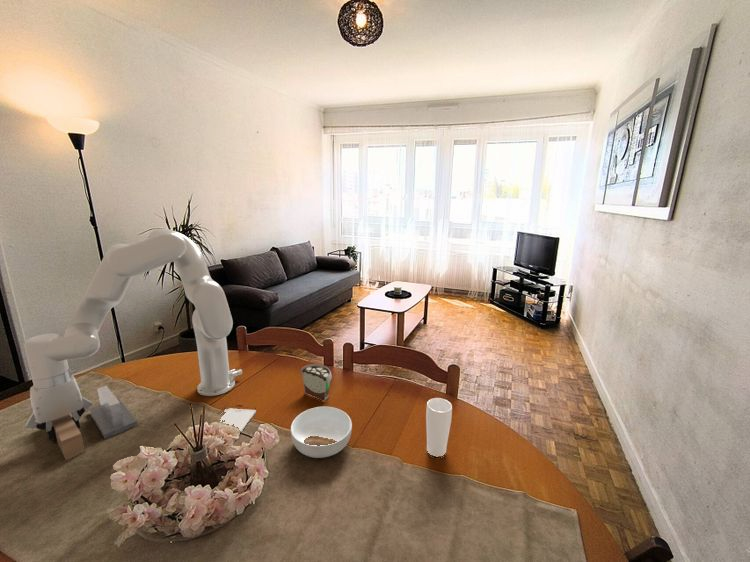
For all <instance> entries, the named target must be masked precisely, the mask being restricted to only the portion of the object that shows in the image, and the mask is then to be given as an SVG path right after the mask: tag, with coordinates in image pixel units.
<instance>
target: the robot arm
mask: <svg viewBox="0 0 750 562" xmlns="http://www.w3.org/2000/svg"><path fill="white" fill-rule="evenodd" d="M170 263H174V265H175V267H176V270H177V272H178V275H179V277H180V280H181V284H182V286H183V289H184V290H183V291H184V295H185V297H186V299H188V301H189V302H191V303H192V304H193V305H194V308H195V309H194V311H193V313H192V317H191V321H192V322H191V323H192V327H193V332H194V337H195V342H196V348H197V355H198V356H197V357H198V364H199V374H200V382H199V384H198V385H197V387H196V389H197V393H198V394H199V395H201V396H205V397H214V396H215V397H216V396H219V395H222V394H225V393H227V392H229V391H231V390H232V389H234V386H235V385H236V380H235V378H236V377H237V376H240V375H242V374H244V373H243V370H242V369H236V368H233V369H231V370H230V364H229V356H228V355H229V354H228V342H227V337H228V336H229V335H230V333H231V331H232V330H233V324H234V322H233V321H234V320H233V317H232V314H231V311H230V310H231V309H230V307H229V303H228V300H227V297H226V294H225V291H224V289H223V288H222V286H221V284H219V283H218V282H217V281H215V280H214V279H212V277H211V275H210V272H209V268H208V266H207V264H206V261H205V257H204V256H203V254H202V252H201V250H200V249H199V247H198V246H197V244H196V243H195V242H194V241H193V240H191V239H190V238H189V237H187V236H186V235H185V234H183V233H181V232H179V231H176V230H172V229H168V228H157V229H154V230H152V231H151V232H150V233H149V235H148V236H147V238H146V239H144V240H140V241H138V242H135V243H132V244H127V243H116V244H113V245H112V246H111V247H109V248H108V249H107V251H106V252H105V254H104V256H103V257H102V260H101V261H100V263H99V265H98V267H97V269H96V271H95V274H94V275H93V278H92V279H91V281H90V283H89V285H88V287H87V290H86V291H85V293H84V295H83V296H82V299H81V300H80V302H79V304H78V305H77V307H76V309H75V311H74V313H73V314H72V316H71V319H70V321H69V322H68V325H67V327H66V329H65V332H64V335H63V336H61V335H60V334H58V333H54V332H53V333H43V334H39V335H35V336H33V337H30V338H28V339H27V340H26V341H25V342H24V345H23V347H24V352H25V356H26V360H27V365H28V367H29V372H30V376H31V380H32V383H33V385H32V386H31V387H30V388H29V397H30V398H29V399H30V405H31V411H32V413H31V414H30V417H29V418H28V419H27V421H26V423H25V427H26V428H27V429H39V430H41V431H42V430H43V431H45V432H46V433H47V436H48V440H49V441H51V440H52V441H53V443H57V438H56V433H55V430H54V428H53V426H52V420H53V419H56V418H59V417H62V416H64V415H67V414H70V415H71V417H72V419H73V421H74V422H75V424H76V426H77V427H78V429H79V430H80V429H81V423H80V420H81V417H82V415H84V413H85V412H86V411H87V410H89V409H90V407H91V406H92V405H93V403H92V401H90V400H88V398H86V397H83V396H82V393H81V390H80V387H79V385H78V382H77V380H76V378H75V376H74V374H75V373H76V374H77V373H78V372H77V371H78V370H77V368H76V367H73V368H71V367H69V362H68V361H69V360H79V359H86V358H89V357H92V356H93V355H95V354H96V353H97V352H98V351H99V349H100V347H101V341H100V337H99V331H100V329H101V327H102V325H103V323H104V321H105V319H106V317H107V315H108V314H109V313H110V311H111V309H112V308H114V307H115V306H117V305H119V304H120V303H121V302H122V300H123V299H124V297H125V295H126V293H127V291H128V288H129V286H130V284H131V282H132V280H133V278H134V277H137V276H139V275H143V274H145V273H147V272H150V271H154V270H156V269H159V268H161V267H164V266H165V265H168V264H170Z"/></svg>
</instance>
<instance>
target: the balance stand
mask: <svg viewBox="0 0 750 562" xmlns="http://www.w3.org/2000/svg"><path fill="white" fill-rule="evenodd" d="M96 390H97V394H98V399H99V404H100V405H98V406H95V407H93V408H92V407H91V408H88V412H89V413H90V414H89V413H88V414H89V415H90V417H91V419H92V418H93V419H92V420H93V422H94V421H95V422H94V424H95V425H96V427H97V428H98V430H99V432H100V433H101V435H102V436H103V438H104V439H105V440H107V439H109V438H111V437H114V436H115V434H116V435H119V434H121V433H123V432H125V430H126V431H128V430H130V429H133V428H134V426H135V427H137V426H138V422H137V420H136V419H135V417H134V416H133V415H132V413H131V412H130V411H129V410H128V408H127V407H126V406H125V405H124V403H123V402H122V401H121V400H120V398H117V397H116V395H115V394H114V393H113V392H112V391H111V389H110V388H109V387H108V386H107V385H104V386H101V387H98V388H97V389H96ZM132 427H133V428H132ZM127 429H128V430H127ZM120 432H121V433H120ZM118 433H119V434H118ZM113 435H114V436H113ZM106 438H107V439H106Z"/></svg>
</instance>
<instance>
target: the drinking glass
mask: <svg viewBox="0 0 750 562" xmlns="http://www.w3.org/2000/svg"><path fill="white" fill-rule="evenodd" d="M425 410H426V412H425V422H426V423H425V426H426V429H425V430H426V452H427V451H428V452H427V454H428V453H429V454H430V455H433V456H436V457H438V456H443V455H444V454H445V453H446V454H447V447H448V441H449V436H450V435H449V434H450V430H451V424H452V419H453V418H452V415H453V405H452V403H451V402H450V401H448V399H445V398H441V397H433V398H430V399H429V400H428V401H427V402H426V409H425ZM429 454H428V455H429ZM446 454H445V455H446ZM430 455H429V456H430ZM443 457H444V456H443Z"/></svg>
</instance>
